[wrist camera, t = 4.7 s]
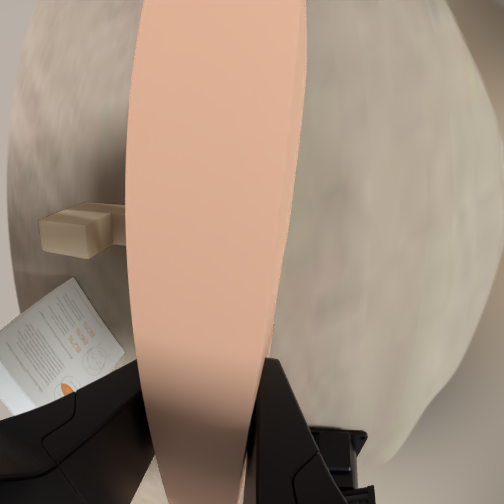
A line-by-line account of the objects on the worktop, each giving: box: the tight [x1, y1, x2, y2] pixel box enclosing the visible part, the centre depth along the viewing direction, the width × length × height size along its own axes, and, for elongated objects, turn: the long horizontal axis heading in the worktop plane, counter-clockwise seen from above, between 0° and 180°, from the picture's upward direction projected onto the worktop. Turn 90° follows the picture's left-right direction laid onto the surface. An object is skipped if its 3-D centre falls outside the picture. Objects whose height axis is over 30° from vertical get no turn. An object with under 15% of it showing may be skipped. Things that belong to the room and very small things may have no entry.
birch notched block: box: [38, 202, 126, 259], centre depth 18 cm, size 2×12×5 cm, turn 86°
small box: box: [0, 277, 125, 416], centre depth 20 cm, size 8×6×10 cm
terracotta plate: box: [125, 0, 306, 504], centre depth 9 cm, size 16×2×8 cm, turn 175°
